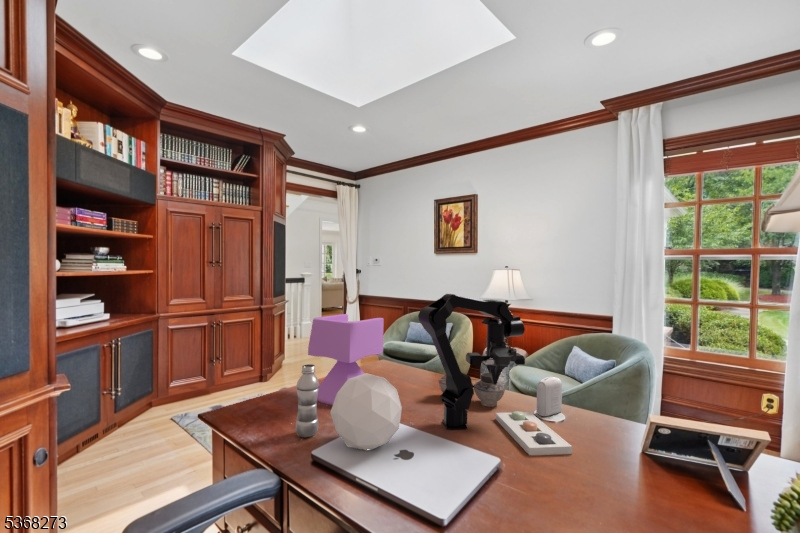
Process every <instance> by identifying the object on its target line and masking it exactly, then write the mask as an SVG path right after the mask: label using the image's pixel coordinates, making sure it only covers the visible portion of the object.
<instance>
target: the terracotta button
mask: <svg viewBox="0 0 800 533" xmlns="http://www.w3.org/2000/svg"><path fill="white" fill-rule="evenodd" d="M523 430H524V431H526V432H536V431H537V424H536V423H534V422H531V421H525V422H523Z"/></svg>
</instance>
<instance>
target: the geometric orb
mask: <svg viewBox="0 0 800 533" xmlns="http://www.w3.org/2000/svg"><path fill="white" fill-rule="evenodd" d="M402 411H403V407H402V402H401V399H400V397H399V392H398V389H397V388H396V387H395V386H394V385H393V384H392V383H391V382H389V380H387V379H386V378H385V377H383V376H378V375H376V374H375V375H374V374H372V373H371V374H370V373H367V372H366V373H365V372H364V374H362V375H359V376H356V377H353V378H350V379H348V380H347V381H346V382H345V384H344V385H343V386H342V387H341V389H340V390H339V391H338V393H337V394H336V397H335V400H334V403H333V405H331V410H330V412H329V414H330V417H331V420H332V422H333V425H334V429H335V431H336V434H337V435H338V436H339V438H341V440H342V441H343V442H344V443H345V445H346V446H347V448H348V447H349V448H354V449H357V448H358V449H357V450H362V449H365V450H364V451H366V450H367V449H371V450H374V449H376V448H378V446H379V447H380V446H384V445H385V444H388V443H389V441H390V440H391V439H392V437H394V436H395V434H396V433H397V432H398V431H399V429H400V426H401V425H400V424H401V418H402ZM373 448H374V449H373Z"/></svg>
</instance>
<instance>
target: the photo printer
mask: <svg viewBox="0 0 800 533" xmlns="http://www.w3.org/2000/svg"><path fill="white" fill-rule="evenodd" d="M562 396H563V383H562V380H561V379H560V378H559V377H554V376H547V377H544V378H542V379H541V380H539V381H538V383H537V384H536V413H537V415H539V416H542V417H549V416H552V415H556V414H559V413H561V412H562V405H563V404H562V402H563V401H562V400H563V398H562Z"/></svg>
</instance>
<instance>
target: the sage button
mask: <svg viewBox="0 0 800 533" xmlns="http://www.w3.org/2000/svg"><path fill="white" fill-rule="evenodd" d="M523 412H524V411H520V410H518V411H517V410H514V411H511V413H512V419H513V420H514V421H520V420H525V414H524V413H523Z"/></svg>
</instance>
